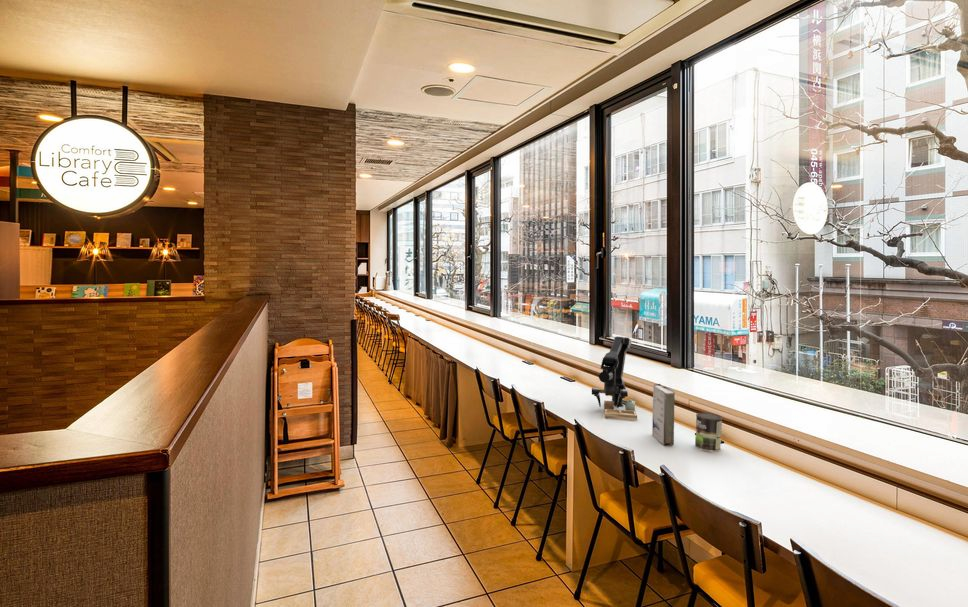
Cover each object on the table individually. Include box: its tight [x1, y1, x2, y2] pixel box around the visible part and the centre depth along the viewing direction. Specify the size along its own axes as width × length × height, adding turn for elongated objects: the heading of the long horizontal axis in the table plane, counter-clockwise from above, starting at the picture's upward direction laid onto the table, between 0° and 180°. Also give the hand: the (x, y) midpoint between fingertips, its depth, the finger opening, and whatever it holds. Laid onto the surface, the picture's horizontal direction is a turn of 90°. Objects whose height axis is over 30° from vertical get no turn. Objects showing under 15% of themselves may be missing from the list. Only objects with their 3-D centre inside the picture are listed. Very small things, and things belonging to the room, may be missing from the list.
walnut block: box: [603, 400, 615, 410], centre depth 275 cm, size 5×5×5 cm
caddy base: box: [603, 408, 638, 421], centre depth 264 cm, size 9×16×2 cm, turn 78°
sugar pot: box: [624, 399, 636, 411], centre depth 273 cm, size 5×5×7 cm
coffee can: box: [694, 412, 723, 453], centre depth 219 cm, size 10×10×14 cm
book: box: [651, 383, 676, 446], centre depth 228 cm, size 16×6×24 cm, turn 178°
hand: (608, 407), depth 275 cm, fingers open, 9 cm apart
